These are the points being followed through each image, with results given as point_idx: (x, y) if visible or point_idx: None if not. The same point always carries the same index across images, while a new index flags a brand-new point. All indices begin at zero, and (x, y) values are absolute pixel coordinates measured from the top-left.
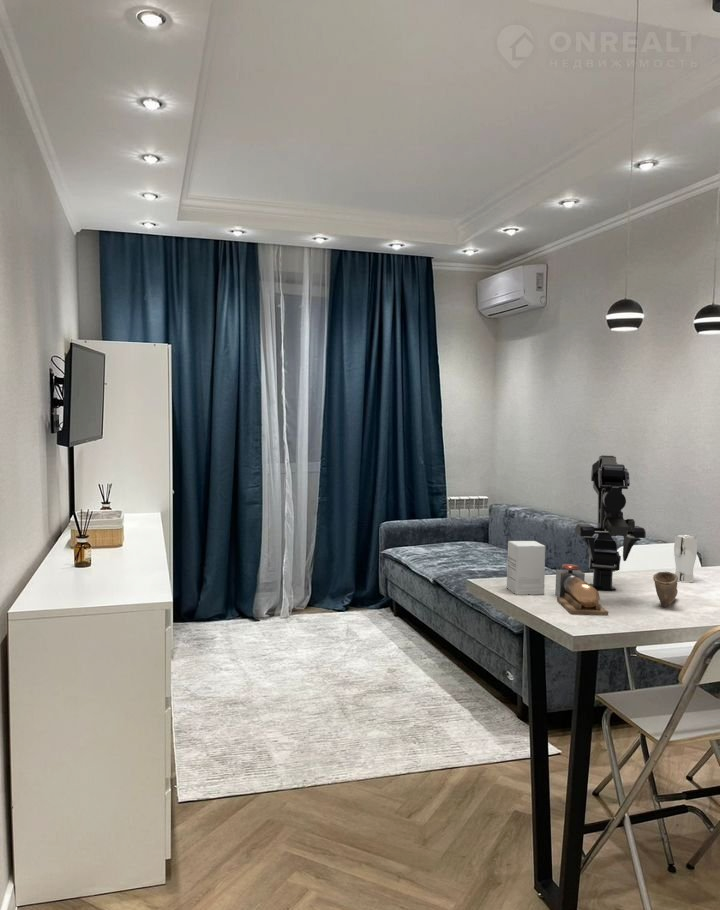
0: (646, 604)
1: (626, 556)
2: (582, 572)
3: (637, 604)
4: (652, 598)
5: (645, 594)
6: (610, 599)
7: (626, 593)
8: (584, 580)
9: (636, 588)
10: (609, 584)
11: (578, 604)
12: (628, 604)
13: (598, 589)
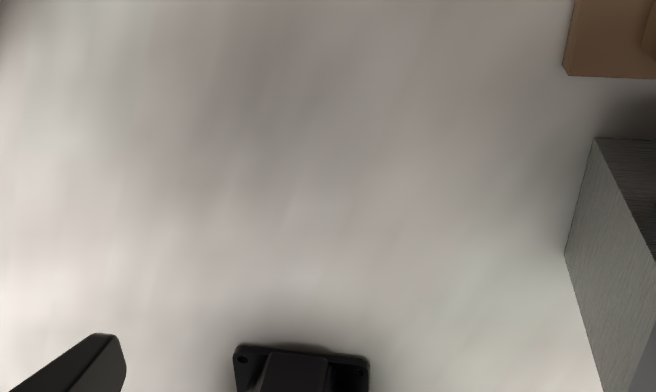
0: (99, 17)
1: (46, 383)
2: (649, 347)
3: (172, 10)
4: (35, 186)
5: (68, 273)
6: (350, 150)
7: (183, 293)
8: (643, 237)
9: None
10: (271, 375)
11: None
12: (249, 3)
13: (349, 358)
